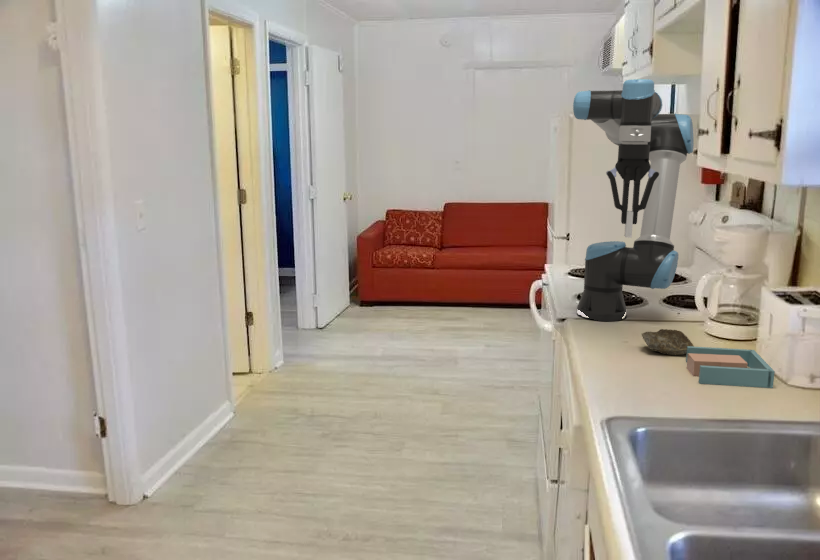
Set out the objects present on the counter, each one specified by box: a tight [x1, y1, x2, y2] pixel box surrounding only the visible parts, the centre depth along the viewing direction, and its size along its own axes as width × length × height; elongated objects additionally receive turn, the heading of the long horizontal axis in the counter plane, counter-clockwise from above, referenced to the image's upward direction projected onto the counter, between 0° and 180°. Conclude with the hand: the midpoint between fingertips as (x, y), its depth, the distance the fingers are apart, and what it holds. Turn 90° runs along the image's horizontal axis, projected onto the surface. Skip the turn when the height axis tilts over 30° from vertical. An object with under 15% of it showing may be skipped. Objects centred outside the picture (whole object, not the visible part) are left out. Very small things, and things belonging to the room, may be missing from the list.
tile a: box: [714, 354, 748, 368], centre depth 173 cm, size 6×6×4 cm
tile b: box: [686, 353, 721, 378], centre depth 173 cm, size 6×6×4 cm
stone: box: [641, 328, 695, 356], centre depth 189 cm, size 13×8×8 cm
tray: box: [685, 346, 775, 389], centre depth 172 cm, size 16×16×4 cm
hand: (627, 236), depth 185 cm, fingers closed
